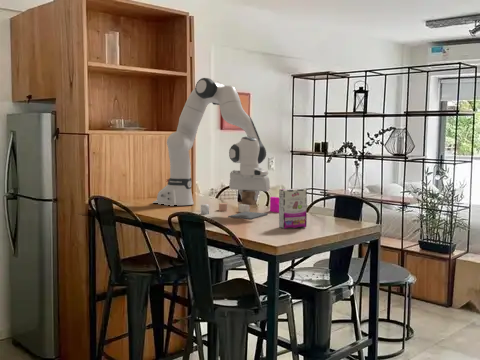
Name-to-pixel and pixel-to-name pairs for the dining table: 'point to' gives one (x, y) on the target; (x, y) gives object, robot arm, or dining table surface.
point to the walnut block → (248, 198)
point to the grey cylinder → (204, 209)
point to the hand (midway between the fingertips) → (249, 199)
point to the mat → (248, 215)
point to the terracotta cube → (222, 206)
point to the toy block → (274, 204)
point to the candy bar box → (292, 208)
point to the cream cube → (244, 208)
